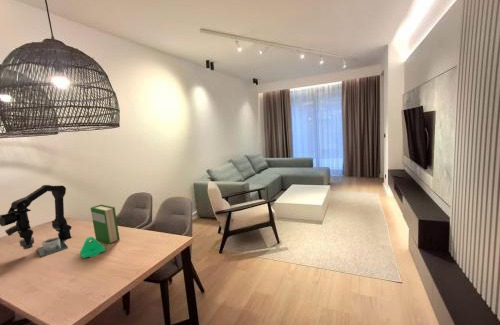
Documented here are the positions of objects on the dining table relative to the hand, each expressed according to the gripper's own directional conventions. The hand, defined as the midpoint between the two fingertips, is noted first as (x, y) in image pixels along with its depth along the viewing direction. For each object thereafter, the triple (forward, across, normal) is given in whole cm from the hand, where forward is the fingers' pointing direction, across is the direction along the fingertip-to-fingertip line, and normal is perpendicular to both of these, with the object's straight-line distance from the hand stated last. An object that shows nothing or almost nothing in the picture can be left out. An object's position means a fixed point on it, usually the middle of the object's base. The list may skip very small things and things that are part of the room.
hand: (27, 243), depth 158 cm
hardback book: (+8, +23, +39) cm, 46 cm away
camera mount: (+8, +37, +26) cm, 46 cm away
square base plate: (+8, +4, +11) cm, 14 cm away
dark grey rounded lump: (+3, 0, 0) cm, 3 cm away
